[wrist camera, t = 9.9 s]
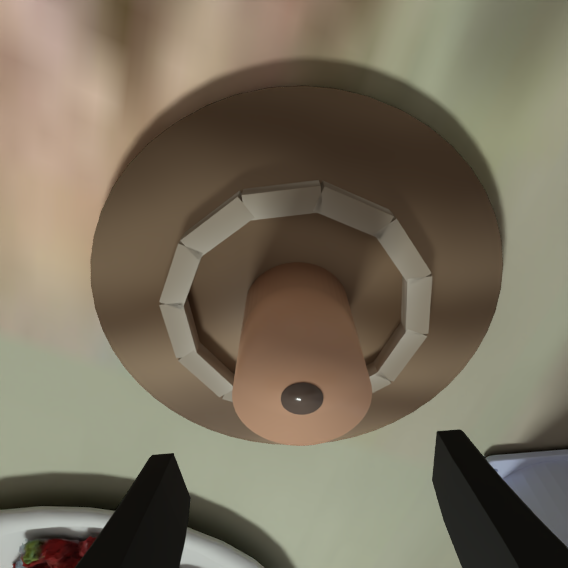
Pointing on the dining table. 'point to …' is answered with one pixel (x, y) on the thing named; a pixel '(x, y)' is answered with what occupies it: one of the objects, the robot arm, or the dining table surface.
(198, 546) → the plated food
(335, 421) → the terracotta bead
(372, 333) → the ring board
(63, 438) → the dining table surface
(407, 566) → the dining table surface
